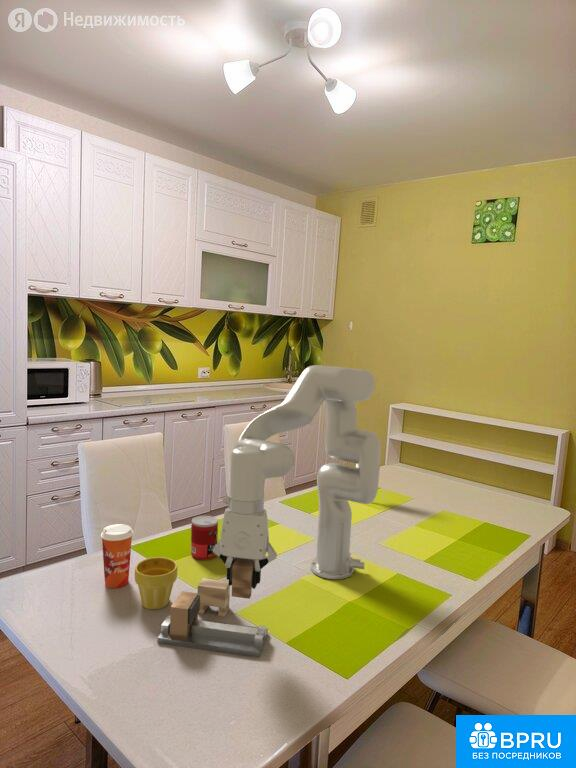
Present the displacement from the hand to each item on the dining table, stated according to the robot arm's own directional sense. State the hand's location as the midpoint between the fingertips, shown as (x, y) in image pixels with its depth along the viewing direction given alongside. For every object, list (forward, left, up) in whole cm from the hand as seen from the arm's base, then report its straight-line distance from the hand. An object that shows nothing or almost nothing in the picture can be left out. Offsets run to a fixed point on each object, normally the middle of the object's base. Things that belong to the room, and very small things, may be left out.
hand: (243, 583), depth 118 cm
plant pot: (+25, -11, -14) cm, 31 cm away
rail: (+6, 0, -14) cm, 15 cm away
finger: (0, 0, -1) cm, 1 cm away
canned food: (+22, -40, -14) cm, 48 cm away
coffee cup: (+39, -18, -14) cm, 45 cm away
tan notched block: (+10, -11, -14) cm, 20 cm away
